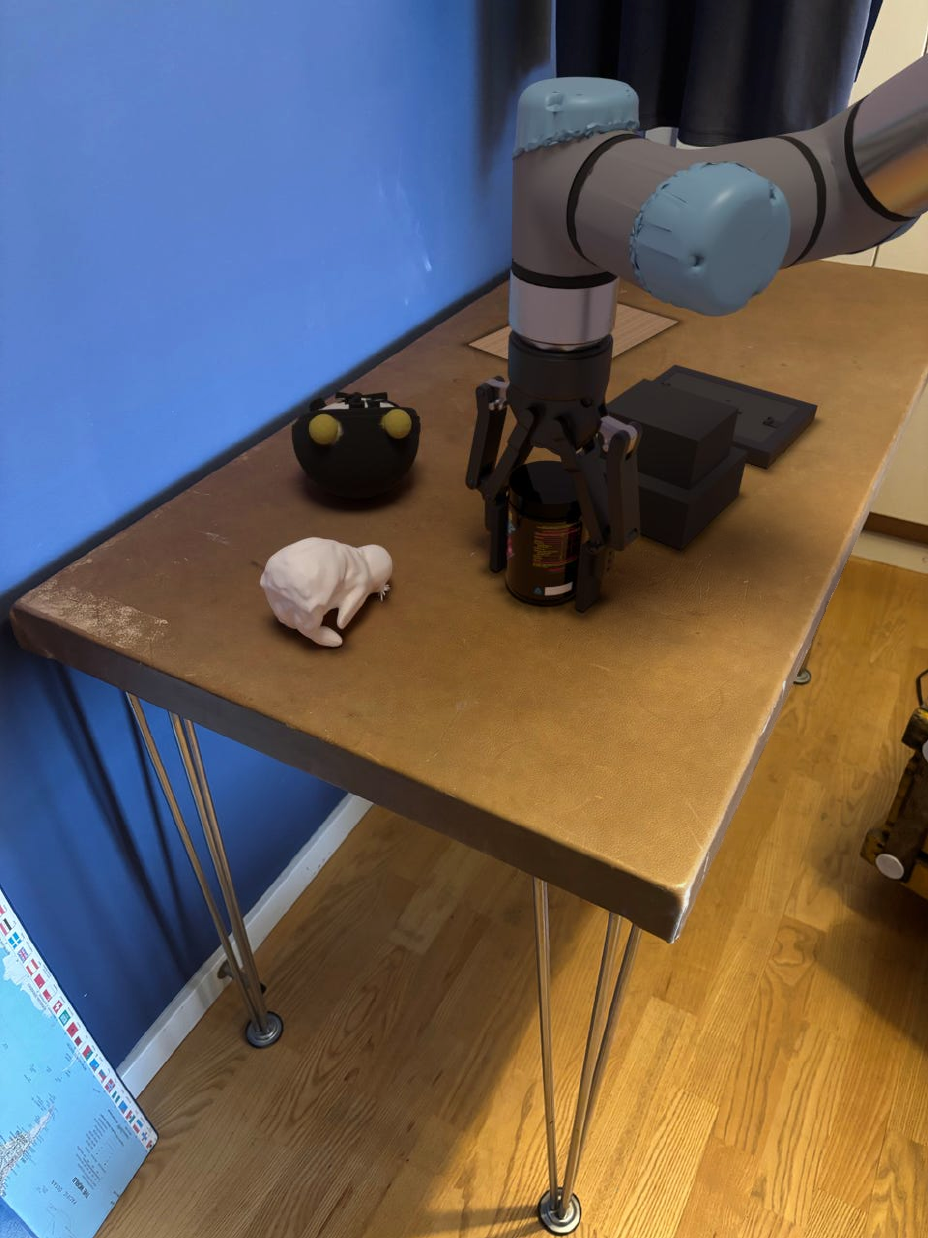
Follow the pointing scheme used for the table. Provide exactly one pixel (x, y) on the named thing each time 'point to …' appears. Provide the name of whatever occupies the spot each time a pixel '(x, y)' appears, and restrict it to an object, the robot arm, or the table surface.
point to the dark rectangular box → (686, 501)
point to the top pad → (675, 431)
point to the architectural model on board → (626, 333)
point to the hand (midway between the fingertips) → (544, 581)
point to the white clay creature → (323, 583)
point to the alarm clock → (356, 443)
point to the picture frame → (749, 412)
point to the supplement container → (543, 533)
